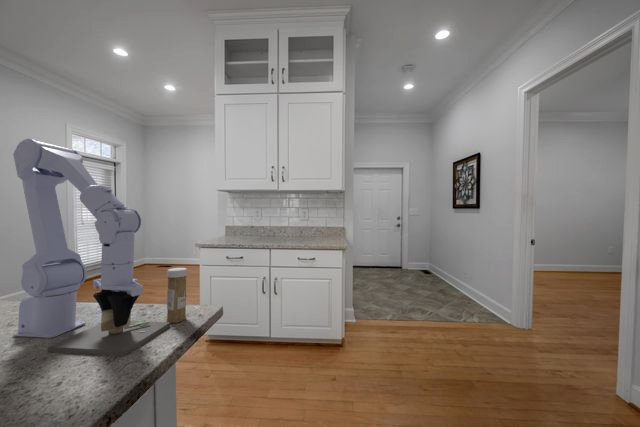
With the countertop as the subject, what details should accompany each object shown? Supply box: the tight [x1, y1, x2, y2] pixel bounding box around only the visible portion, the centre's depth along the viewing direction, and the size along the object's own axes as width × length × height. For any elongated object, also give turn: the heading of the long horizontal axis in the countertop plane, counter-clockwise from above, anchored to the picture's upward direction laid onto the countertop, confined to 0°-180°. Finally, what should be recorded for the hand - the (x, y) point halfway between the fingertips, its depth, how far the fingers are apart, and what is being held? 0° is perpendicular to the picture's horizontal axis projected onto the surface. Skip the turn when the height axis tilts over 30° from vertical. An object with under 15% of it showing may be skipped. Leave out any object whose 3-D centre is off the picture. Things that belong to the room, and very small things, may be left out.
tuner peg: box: [100, 309, 150, 334], centre depth 60 cm, size 9×3×5 cm, turn 136°
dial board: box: [47, 320, 171, 357], centre depth 59 cm, size 16×14×1 cm
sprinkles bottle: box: [166, 267, 188, 324], centre depth 69 cm, size 5×5×13 cm
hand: (116, 324), depth 59 cm, fingers closed on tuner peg, 3 cm apart
